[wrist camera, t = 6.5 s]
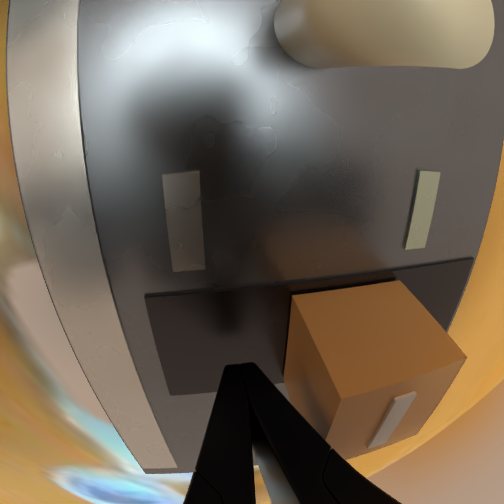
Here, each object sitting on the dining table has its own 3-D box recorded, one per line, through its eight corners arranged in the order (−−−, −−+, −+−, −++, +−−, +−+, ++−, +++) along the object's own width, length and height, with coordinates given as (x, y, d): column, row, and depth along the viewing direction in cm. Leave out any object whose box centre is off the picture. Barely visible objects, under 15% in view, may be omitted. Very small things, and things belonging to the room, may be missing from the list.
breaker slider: (373, 360, 11) (418, 436, 8) (283, 379, 10) (314, 471, 7) (399, 280, 9) (469, 360, 6) (292, 295, 9) (342, 402, 6)
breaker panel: (377, 399, 18) (394, 430, 15) (145, 436, 15) (145, 475, 13) (457, -12, 7) (504, -18, 5) (55, -47, 5) (22, -75, 2)
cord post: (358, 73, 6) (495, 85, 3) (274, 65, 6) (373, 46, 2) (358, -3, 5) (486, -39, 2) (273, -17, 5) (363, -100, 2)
